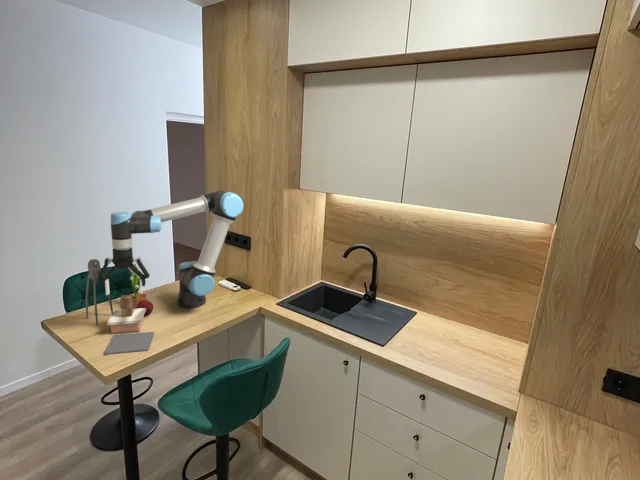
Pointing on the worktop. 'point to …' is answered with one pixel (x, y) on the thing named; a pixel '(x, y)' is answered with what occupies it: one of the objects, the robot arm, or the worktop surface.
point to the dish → (126, 327)
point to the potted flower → (136, 288)
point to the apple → (145, 306)
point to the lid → (126, 312)
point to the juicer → (93, 274)
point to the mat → (130, 343)
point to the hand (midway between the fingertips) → (125, 293)
